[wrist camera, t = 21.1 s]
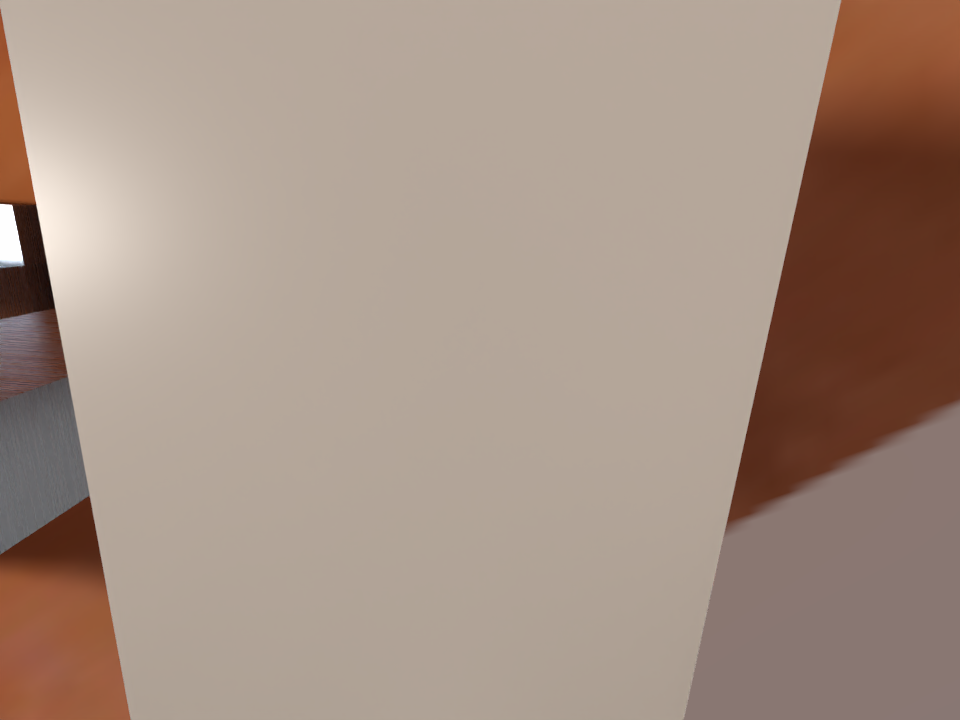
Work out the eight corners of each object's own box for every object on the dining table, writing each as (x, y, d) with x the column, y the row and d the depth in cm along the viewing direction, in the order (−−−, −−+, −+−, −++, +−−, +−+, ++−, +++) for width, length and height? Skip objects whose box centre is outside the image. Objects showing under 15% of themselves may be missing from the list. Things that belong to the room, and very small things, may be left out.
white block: (392, 83, 11) (-74, -398, 2) (601, 91, 11) (933, -419, 2) (389, 760, 17) (246, 1352, 8) (526, 777, 16) (533, 1408, 8)
